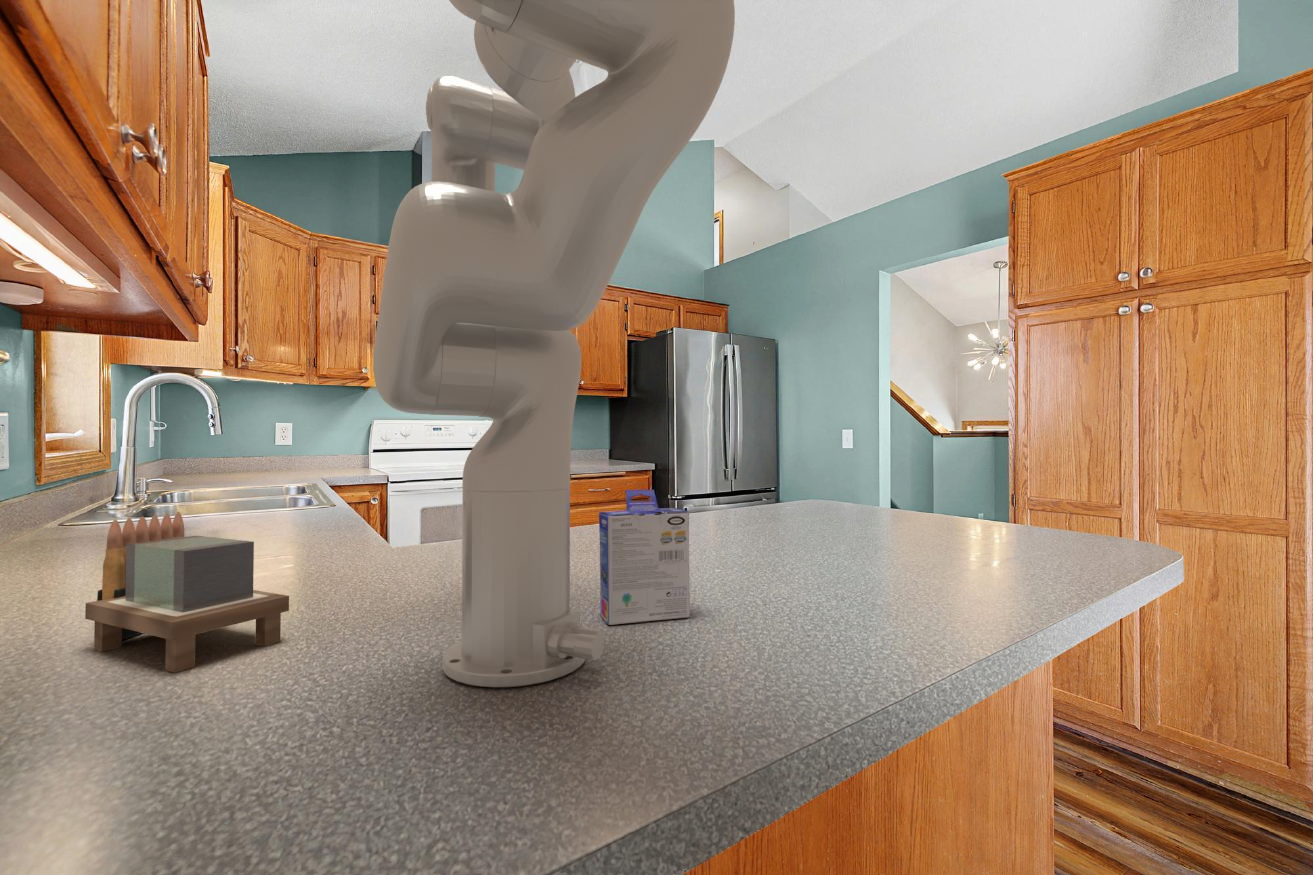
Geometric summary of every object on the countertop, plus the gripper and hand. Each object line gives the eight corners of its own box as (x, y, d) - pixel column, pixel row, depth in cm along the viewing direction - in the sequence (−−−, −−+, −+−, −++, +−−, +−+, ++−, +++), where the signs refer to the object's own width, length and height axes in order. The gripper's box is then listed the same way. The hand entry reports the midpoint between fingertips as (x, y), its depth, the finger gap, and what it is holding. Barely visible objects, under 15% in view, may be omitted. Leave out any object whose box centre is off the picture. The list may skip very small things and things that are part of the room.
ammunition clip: (114, 642, 57) (117, 520, 58) (93, 643, 57) (97, 520, 58) (190, 614, 68) (192, 511, 69) (173, 614, 68) (175, 511, 68)
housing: (195, 587, 62) (196, 535, 62) (253, 597, 58) (253, 541, 58) (125, 600, 57) (126, 543, 57) (183, 612, 52) (184, 551, 53)
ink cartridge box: (676, 606, 72) (675, 488, 72) (692, 618, 66) (692, 491, 67) (597, 613, 68) (597, 490, 69) (608, 627, 63) (608, 493, 64)
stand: (288, 640, 59) (289, 595, 59) (171, 675, 50) (172, 621, 50) (202, 622, 65) (203, 581, 65) (84, 650, 56) (85, 602, 56)
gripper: (487, 248, 82) (486, 370, 81) (382, 200, 66) (381, 351, 66) (531, 240, 79) (530, 367, 78) (432, 188, 63) (430, 346, 62)
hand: (462, 359), depth 72 cm, fingers open, 9 cm apart
